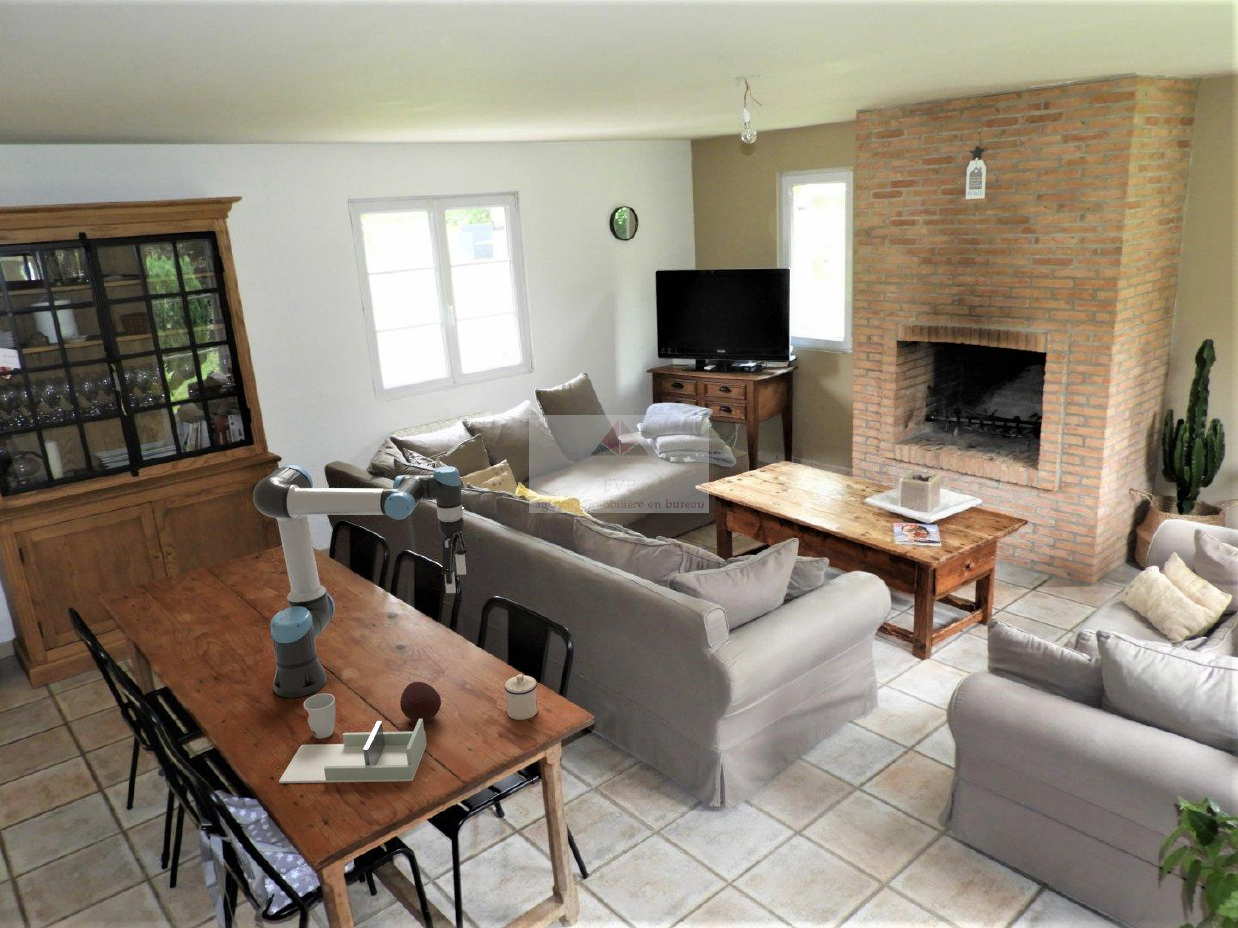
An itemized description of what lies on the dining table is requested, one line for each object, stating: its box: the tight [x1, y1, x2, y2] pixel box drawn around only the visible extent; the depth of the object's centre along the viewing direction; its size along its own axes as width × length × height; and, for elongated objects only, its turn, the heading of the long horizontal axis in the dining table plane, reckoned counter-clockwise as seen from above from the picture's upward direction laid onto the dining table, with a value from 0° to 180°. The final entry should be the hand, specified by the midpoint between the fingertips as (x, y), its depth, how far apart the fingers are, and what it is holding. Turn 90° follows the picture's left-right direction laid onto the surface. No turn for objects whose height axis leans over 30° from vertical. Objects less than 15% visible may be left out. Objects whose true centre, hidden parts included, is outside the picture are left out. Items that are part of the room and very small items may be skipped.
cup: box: [303, 693, 337, 739], centre depth 247 cm, size 8×8×10 cm
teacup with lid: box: [503, 673, 539, 721], centre depth 254 cm, size 12×9×12 cm
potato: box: [399, 681, 442, 724], centre depth 252 cm, size 11×13×10 cm
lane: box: [278, 719, 428, 784], centre depth 233 cm, size 34×16×9 cm, turn 89°
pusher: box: [363, 720, 385, 765], centre depth 233 cm, size 1×13×8 cm, turn 178°
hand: (456, 583), depth 275 cm, fingers open, 13 cm apart
